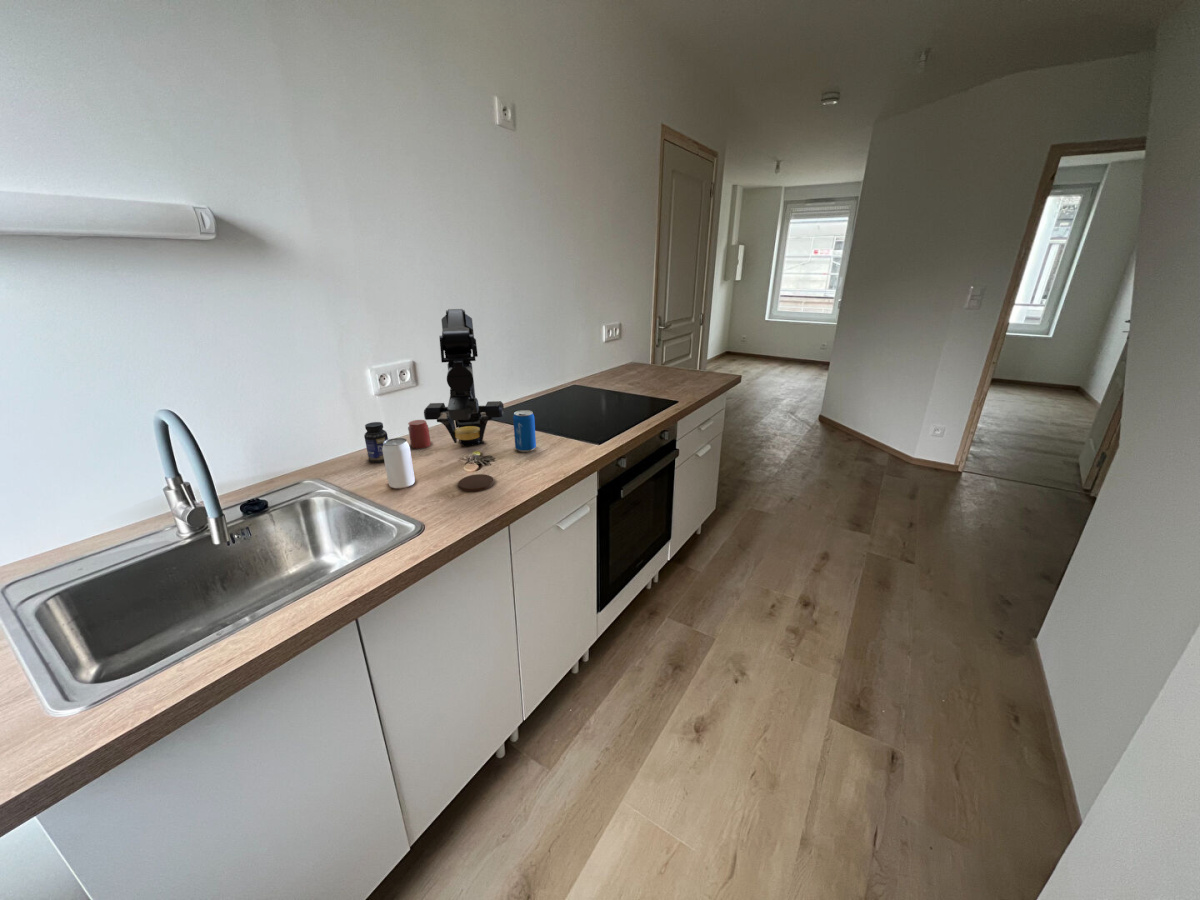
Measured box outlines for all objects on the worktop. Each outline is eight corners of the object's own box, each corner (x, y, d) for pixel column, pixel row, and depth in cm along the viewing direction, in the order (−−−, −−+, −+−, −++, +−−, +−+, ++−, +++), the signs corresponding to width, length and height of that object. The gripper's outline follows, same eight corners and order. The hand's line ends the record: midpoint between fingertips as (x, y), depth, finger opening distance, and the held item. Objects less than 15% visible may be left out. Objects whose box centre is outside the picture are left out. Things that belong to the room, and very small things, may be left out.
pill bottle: (382, 463, 132) (376, 428, 128) (364, 462, 133) (357, 426, 129) (395, 456, 138) (389, 421, 134) (378, 454, 139) (371, 420, 135)
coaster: (487, 474, 125) (487, 471, 125) (498, 486, 118) (498, 483, 118) (454, 481, 121) (454, 478, 120) (464, 494, 114) (463, 491, 113)
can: (389, 491, 115) (380, 447, 111) (389, 481, 121) (381, 439, 117) (416, 486, 118) (408, 443, 113) (414, 477, 123) (408, 435, 119)
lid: (458, 441, 112) (457, 435, 111) (452, 434, 117) (451, 428, 116) (484, 437, 115) (483, 431, 114) (477, 430, 120) (476, 424, 119)
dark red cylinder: (428, 440, 150) (425, 418, 147) (432, 446, 145) (429, 423, 142) (409, 444, 147) (405, 421, 144) (413, 450, 142) (409, 426, 140)
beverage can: (511, 451, 141) (508, 414, 137) (522, 444, 147) (519, 408, 142) (529, 454, 139) (527, 416, 135) (539, 447, 145) (537, 411, 140)
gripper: (413, 391, 102) (423, 455, 108) (496, 389, 104) (502, 452, 110) (425, 380, 113) (434, 439, 118) (501, 379, 114) (506, 437, 120)
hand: (468, 442), depth 116 cm, fingers closed on lid, 6 cm apart
